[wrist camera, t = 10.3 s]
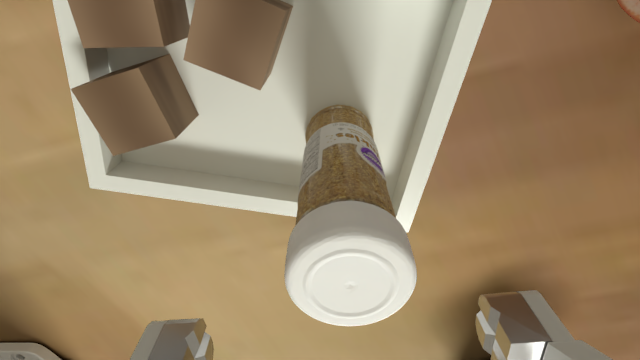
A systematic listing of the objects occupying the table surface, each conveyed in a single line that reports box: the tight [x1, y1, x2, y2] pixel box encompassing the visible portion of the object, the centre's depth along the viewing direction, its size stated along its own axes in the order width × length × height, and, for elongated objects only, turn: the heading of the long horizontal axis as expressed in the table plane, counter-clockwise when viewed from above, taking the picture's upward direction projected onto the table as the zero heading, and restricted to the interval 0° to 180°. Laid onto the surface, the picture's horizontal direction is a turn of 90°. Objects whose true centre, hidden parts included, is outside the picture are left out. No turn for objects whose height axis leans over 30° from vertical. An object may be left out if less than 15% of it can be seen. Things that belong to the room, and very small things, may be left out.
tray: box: [53, 0, 492, 232], centre depth 21 cm, size 22×16×3 cm
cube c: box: [71, 54, 199, 156], centre depth 20 cm, size 4×4×4 cm
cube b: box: [183, 0, 293, 90], centre depth 18 cm, size 4×4×4 cm
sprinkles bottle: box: [285, 105, 417, 326], centre depth 17 cm, size 5×5×14 cm
